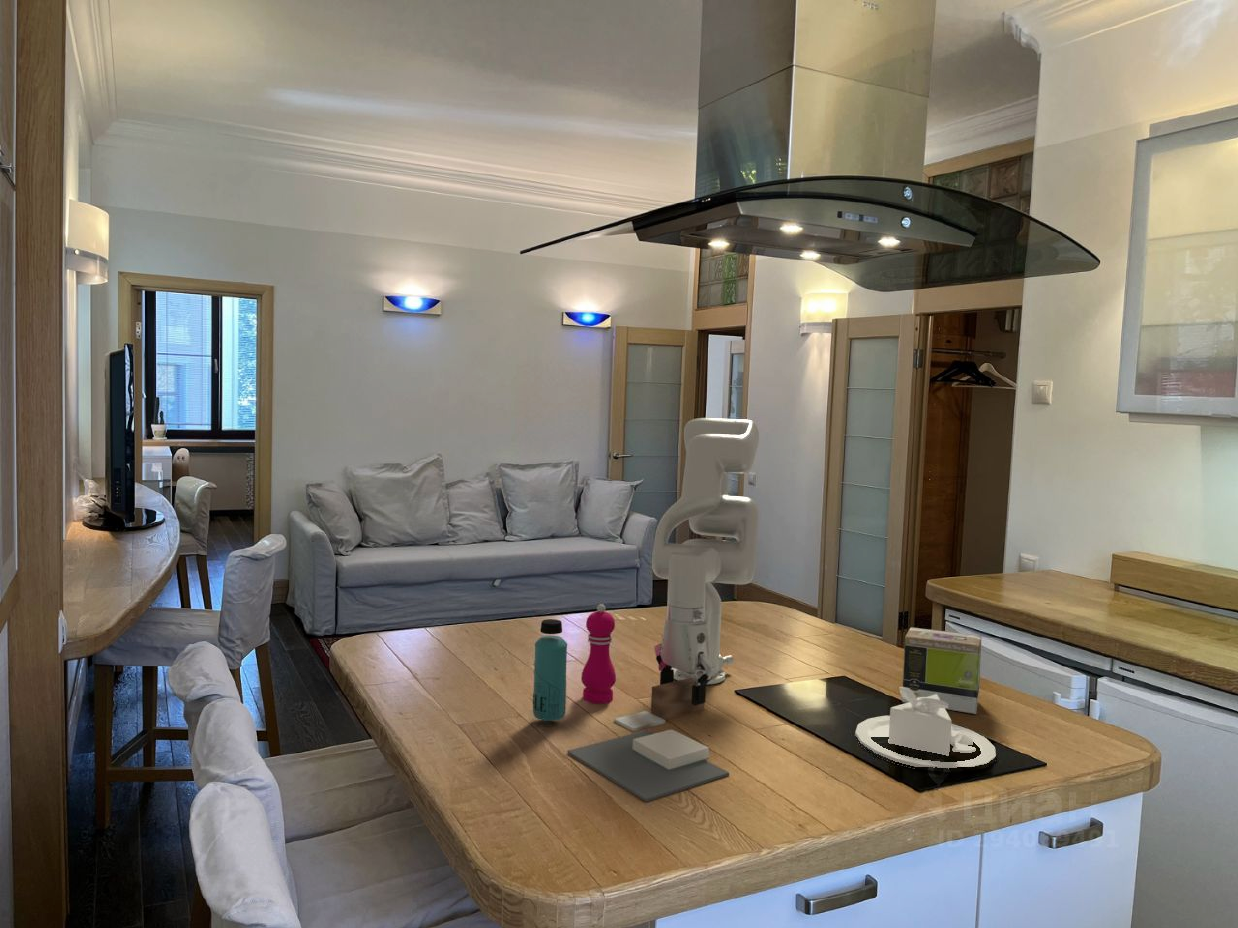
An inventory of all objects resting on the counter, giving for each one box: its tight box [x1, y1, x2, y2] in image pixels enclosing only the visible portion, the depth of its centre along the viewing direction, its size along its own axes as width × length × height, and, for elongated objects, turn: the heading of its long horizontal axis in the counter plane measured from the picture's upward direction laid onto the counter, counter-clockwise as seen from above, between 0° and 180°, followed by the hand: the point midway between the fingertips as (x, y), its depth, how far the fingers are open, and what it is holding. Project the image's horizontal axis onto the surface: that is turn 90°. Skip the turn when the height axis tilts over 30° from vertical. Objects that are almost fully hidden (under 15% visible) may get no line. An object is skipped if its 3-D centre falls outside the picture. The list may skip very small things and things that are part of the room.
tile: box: [633, 728, 710, 770], centre depth 152 cm, size 2×10×9 cm
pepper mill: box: [581, 603, 617, 704], centre depth 180 cm, size 7×7×20 cm
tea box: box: [901, 626, 982, 715], centre depth 186 cm, size 15×10×15 cm, turn 65°
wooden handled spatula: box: [613, 677, 706, 732], centre depth 172 cm, size 20×6×6 cm, turn 128°
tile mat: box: [567, 729, 730, 803], centre depth 149 cm, size 18×22×1 cm
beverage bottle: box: [532, 618, 568, 722], centre depth 166 cm, size 6×7×20 cm
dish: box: [854, 686, 997, 769], centre depth 162 cm, size 25×25×11 cm
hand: (682, 696), depth 175 cm, fingers open, 9 cm apart
